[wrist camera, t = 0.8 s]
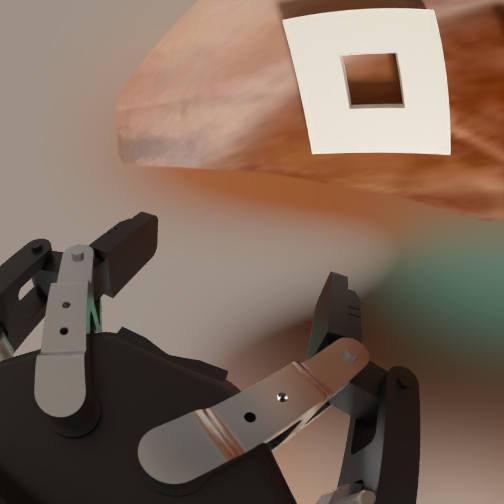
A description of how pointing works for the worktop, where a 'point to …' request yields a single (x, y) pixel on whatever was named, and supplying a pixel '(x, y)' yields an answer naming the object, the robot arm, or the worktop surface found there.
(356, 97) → the worktop surface
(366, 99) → the worktop surface
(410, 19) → the socket board
